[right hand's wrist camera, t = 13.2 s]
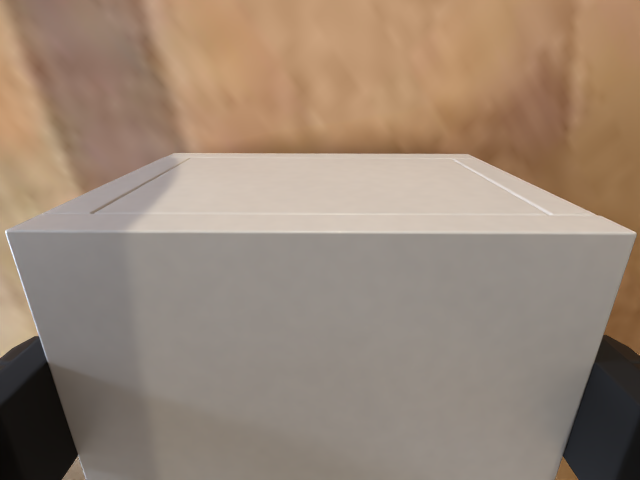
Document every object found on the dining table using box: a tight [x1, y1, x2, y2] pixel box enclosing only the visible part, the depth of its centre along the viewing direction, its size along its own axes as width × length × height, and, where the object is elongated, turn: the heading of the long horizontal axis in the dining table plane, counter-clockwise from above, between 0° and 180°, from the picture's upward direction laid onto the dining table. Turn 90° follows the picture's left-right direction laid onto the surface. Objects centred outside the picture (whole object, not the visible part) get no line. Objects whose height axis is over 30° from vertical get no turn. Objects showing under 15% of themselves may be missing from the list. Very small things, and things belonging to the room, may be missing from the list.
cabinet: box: [5, 153, 637, 480], centre depth 14 cm, size 17×11×8 cm
